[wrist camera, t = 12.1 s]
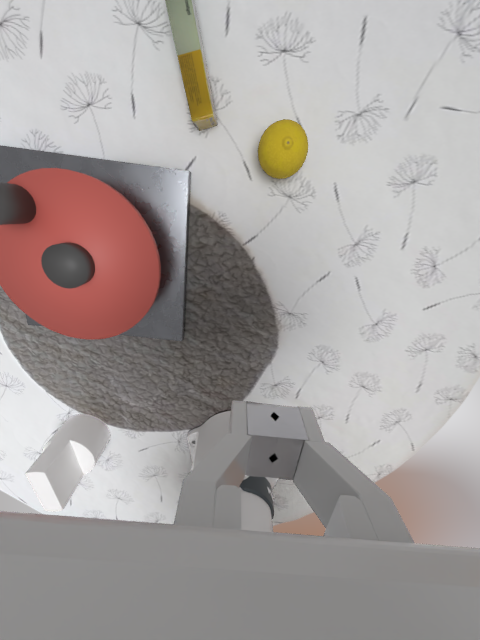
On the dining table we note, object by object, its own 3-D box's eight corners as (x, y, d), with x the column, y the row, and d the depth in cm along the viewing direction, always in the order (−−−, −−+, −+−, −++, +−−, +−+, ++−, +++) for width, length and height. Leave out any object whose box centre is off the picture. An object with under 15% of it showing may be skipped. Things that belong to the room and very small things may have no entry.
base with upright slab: (57, 414, 50) (4, 473, 39) (104, 412, 49) (64, 470, 38) (71, 449, 53) (26, 512, 42) (115, 447, 53) (82, 510, 42)
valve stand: (183, 337, 43) (175, 355, 38) (34, 320, 42) (2, 337, 37) (190, 172, 34) (180, 164, 28) (1, 147, 33) (-48, 133, 28)
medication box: (169, 1, 28) (157, -31, 25) (193, -7, 28) (185, -39, 24) (197, 132, 33) (191, 122, 29) (219, 126, 32) (215, 116, 29)
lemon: (247, 163, 34) (249, 149, 26) (274, 121, 32) (284, 93, 25) (281, 191, 35) (291, 185, 28) (308, 151, 33) (327, 134, 26)
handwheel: (193, 281, 33) (183, 295, 27) (85, 360, 38) (57, 386, 32) (71, 125, 27) (25, 102, 21) (-41, 242, 31) (-105, 248, 26)
